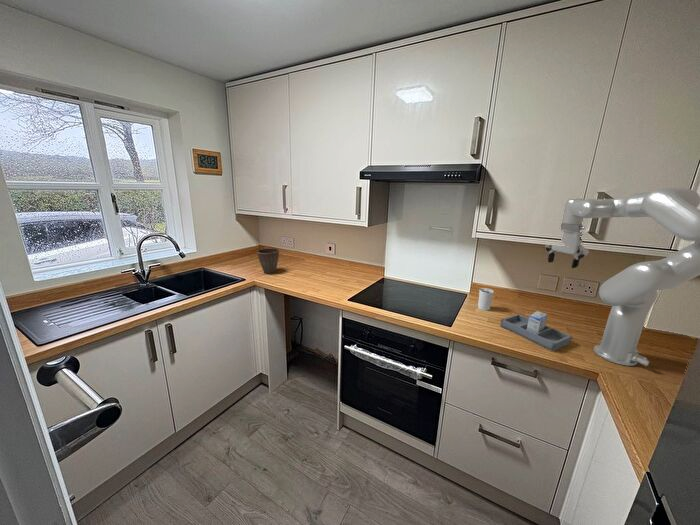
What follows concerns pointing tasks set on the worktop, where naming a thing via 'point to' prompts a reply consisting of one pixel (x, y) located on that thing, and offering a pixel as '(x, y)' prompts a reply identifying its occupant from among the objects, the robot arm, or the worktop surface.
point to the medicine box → (537, 322)
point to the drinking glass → (485, 299)
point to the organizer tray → (545, 338)
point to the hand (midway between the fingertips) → (561, 264)
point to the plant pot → (268, 259)
